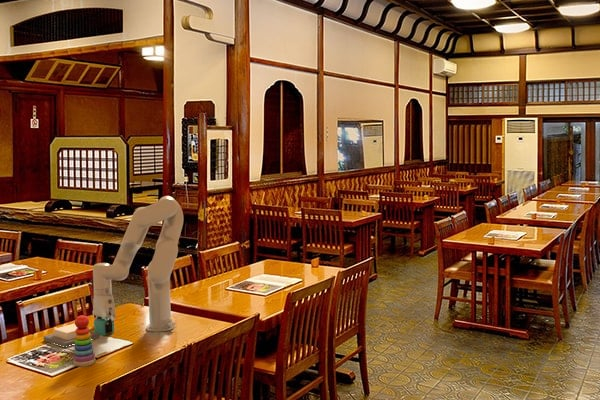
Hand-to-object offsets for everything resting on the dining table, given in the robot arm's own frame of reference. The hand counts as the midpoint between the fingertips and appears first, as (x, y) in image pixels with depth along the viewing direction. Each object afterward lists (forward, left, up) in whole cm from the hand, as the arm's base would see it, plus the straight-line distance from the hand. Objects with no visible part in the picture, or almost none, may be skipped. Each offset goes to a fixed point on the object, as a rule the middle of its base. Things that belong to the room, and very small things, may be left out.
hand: (104, 331), depth 271 cm
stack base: (+3, +14, -1) cm, 14 cm away
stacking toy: (-27, +28, -1) cm, 39 cm away
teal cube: (0, 0, -1) cm, 1 cm away
